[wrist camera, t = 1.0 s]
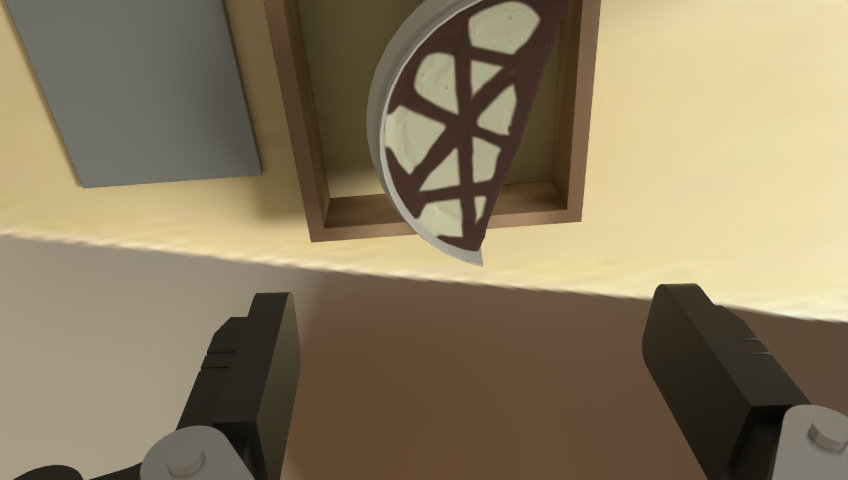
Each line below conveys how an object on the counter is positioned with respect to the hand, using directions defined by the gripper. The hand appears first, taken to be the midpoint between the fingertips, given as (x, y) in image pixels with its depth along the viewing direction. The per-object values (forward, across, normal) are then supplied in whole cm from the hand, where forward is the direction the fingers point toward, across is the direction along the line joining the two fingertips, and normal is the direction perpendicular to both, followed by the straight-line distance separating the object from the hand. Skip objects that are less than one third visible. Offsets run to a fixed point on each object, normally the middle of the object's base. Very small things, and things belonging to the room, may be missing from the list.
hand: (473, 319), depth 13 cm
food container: (+20, 0, -1) cm, 20 cm away
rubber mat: (+20, +15, -1) cm, 25 cm away
